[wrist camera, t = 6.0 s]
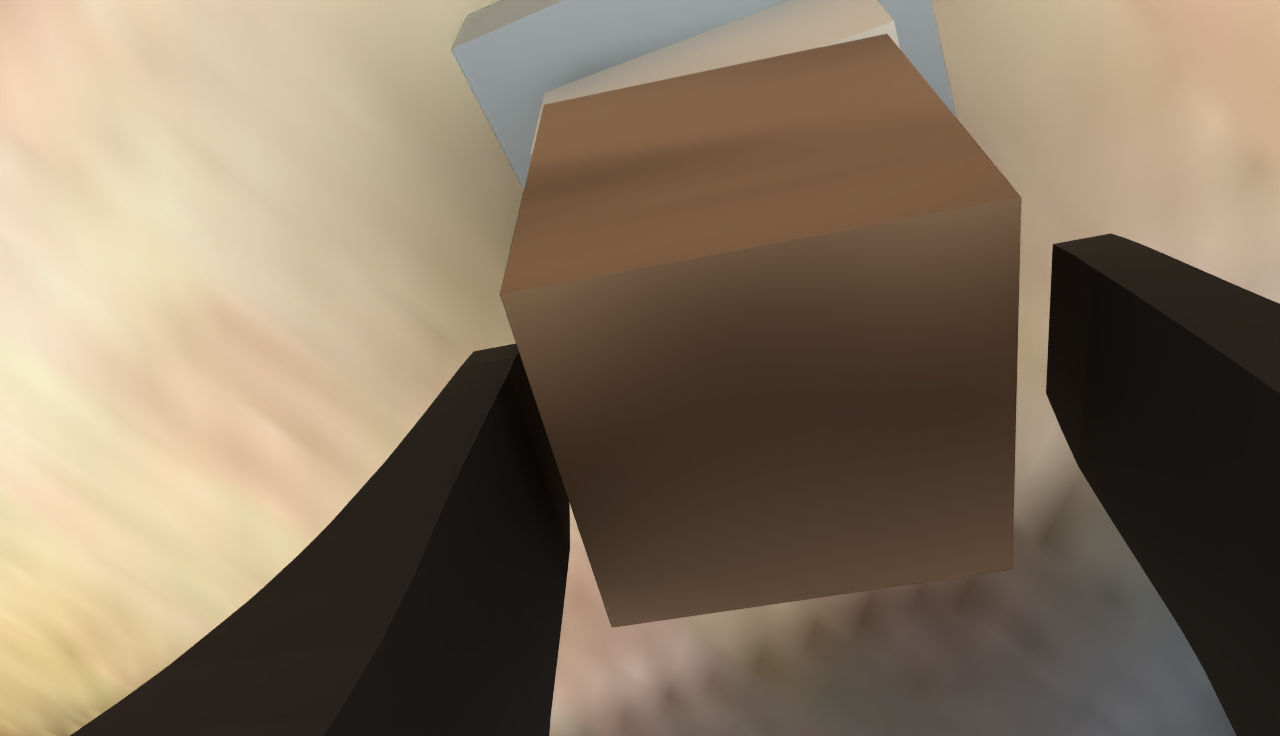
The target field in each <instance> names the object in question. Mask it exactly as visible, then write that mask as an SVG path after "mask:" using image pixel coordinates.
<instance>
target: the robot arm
mask: <svg viewBox="0 0 1280 736" xmlns="http://www.w3.org/2000/svg"><path fill="white" fill-rule="evenodd" d="M1046 394H1047V396H1048V399H1049V401H1050V403H1051V406H1052V408H1053V411H1054V413H1055V415H1056V418H1057V420H1058V422H1059V425H1060V427H1061V429H1062V432H1063V434H1064V436H1065V438H1066V440H1067V443H1068V445H1069V447H1070V449H1071V451H1072V453H1073V456H1074V458H1075V460H1076V462H1077V464H1078V466H1079V468H1080V470H1081V471H1082V473H1083V475H1084V476H1085V478H1086V480H1087V481H1088V483H1089V485H1090V486H1091V488H1092V489H1093V491H1094V493H1095V494H1096V496H1097V497H1098V499H1099V501H1100V502H1101V504H1102V505H1103V507H1104V509H1105V510H1106V512H1107V513H1108V515H1109V517H1110V518H1111V520H1112V521H1113V523H1114V525H1115V526H1116V528H1117V529H1118V531H1119V532H1120V534H1121V536H1122V537H1123V539H1124V540H1125V542H1126V543H1127V545H1128V547H1129V548H1130V550H1131V551H1132V553H1133V554H1134V556H1135V557H1136V559H1137V561H1138V562H1139V564H1140V565H1141V567H1142V568H1143V570H1144V572H1145V573H1146V575H1147V576H1148V578H1149V579H1150V581H1151V583H1152V584H1153V586H1154V587H1155V589H1156V590H1157V592H1158V594H1159V595H1160V597H1161V598H1162V600H1163V601H1164V603H1165V605H1166V606H1167V608H1168V609H1169V611H1170V612H1171V614H1172V616H1173V617H1174V619H1175V620H1176V622H1177V623H1178V625H1179V627H1180V628H1181V630H1182V632H1183V633H1184V635H1185V637H1186V639H1187V640H1188V642H1189V644H1190V645H1191V647H1192V649H1193V651H1194V652H1195V654H1196V656H1197V658H1198V659H1199V661H1200V663H1201V665H1202V666H1203V668H1204V670H1205V672H1206V674H1207V676H1208V678H1209V680H1210V682H1211V684H1212V686H1213V688H1214V690H1215V692H1216V694H1217V697H1218V699H1219V701H1220V703H1221V705H1222V707H1223V709H1224V711H1225V713H1226V715H1227V717H1228V719H1229V721H1230V723H1231V725H1232V727H1233V729H1234V731H1235V733H1236V735H1237V736H1280V304H1279V303H1276V302H1274V301H1272V300H1269V299H1267V298H1264V297H1262V296H1260V295H1257V294H1255V293H1253V292H1250V291H1248V290H1246V289H1243V288H1241V287H1239V286H1236V285H1234V284H1232V283H1229V282H1227V281H1225V280H1222V279H1220V278H1218V277H1216V276H1213V275H1211V274H1209V273H1206V272H1204V271H1202V270H1200V269H1197V268H1195V267H1193V266H1190V265H1188V264H1186V263H1184V262H1181V261H1179V260H1177V259H1174V258H1172V257H1170V256H1168V255H1165V254H1163V253H1160V252H1158V251H1156V250H1153V249H1151V248H1149V247H1146V246H1144V245H1141V244H1139V243H1136V242H1134V241H1131V240H1128V239H1126V238H1123V237H1120V236H1117V235H1114V234H1106V235H1100V236H1095V237H1090V238H1084V239H1079V240H1073V241H1068V242H1063V243H1057V244H1053V253H1052V275H1051V297H1050V319H1049V341H1048V363H1047V385H1046ZM569 552H570V510H569V499H568V496H567V493H566V490H565V487H564V484H563V481H562V478H561V475H560V472H559V469H558V466H557V463H556V460H555V457H554V454H553V451H552V448H551V445H550V442H549V439H548V436H547V433H546V430H545V427H544V424H543V421H542V418H541V415H540V412H539V409H538V407H537V404H536V401H535V398H534V395H533V392H532V389H531V386H530V383H529V380H528V377H527V374H526V371H525V368H524V365H523V362H522V359H521V356H520V353H519V350H518V347H517V344H512V345H507V346H501V347H496V348H490V349H485V350H480V351H474V352H473V353H472V354H471V355H470V357H469V358H468V359H467V360H466V361H465V362H464V364H463V365H462V366H461V367H460V368H459V370H458V371H457V372H456V374H455V375H454V376H453V377H452V379H451V380H450V381H449V382H448V384H447V385H446V386H445V388H444V389H443V390H442V391H441V393H440V394H439V395H438V397H437V398H436V399H435V400H434V402H433V403H432V404H431V406H430V407H429V408H428V409H427V411H426V412H425V413H424V414H423V416H422V417H421V418H420V419H419V421H418V422H417V423H416V424H415V426H414V427H413V428H412V429H411V431H410V432H409V433H408V434H407V436H406V437H405V438H404V439H403V441H402V442H401V443H400V444H399V445H398V447H397V448H396V449H395V450H394V452H393V453H392V454H391V455H390V457H389V458H388V459H387V460H386V461H385V463H384V464H383V465H382V466H381V467H380V468H379V469H378V470H377V472H376V473H375V474H374V475H373V476H372V477H371V478H370V479H369V480H368V482H367V483H366V484H365V485H364V486H363V487H362V488H361V489H360V491H359V492H358V493H357V494H356V495H355V496H354V497H353V498H352V499H351V501H350V502H349V503H348V504H347V505H346V506H345V507H344V508H343V510H342V511H341V512H340V513H339V514H338V515H337V516H336V517H335V519H334V520H333V521H332V522H331V523H330V524H329V525H328V526H327V527H326V528H325V529H324V530H323V531H322V532H321V533H320V534H319V535H318V536H317V537H316V538H315V539H314V540H313V541H312V542H311V543H310V544H309V545H308V546H307V547H306V548H305V549H304V550H303V551H302V552H301V553H300V554H299V555H298V556H297V557H296V558H295V559H294V560H293V561H292V562H290V563H289V564H288V565H287V566H286V567H285V568H284V569H283V570H282V571H281V572H280V573H279V574H278V575H277V576H275V577H274V578H273V579H272V580H271V581H270V582H269V583H268V584H267V585H266V586H265V587H264V588H263V589H261V590H260V591H259V592H258V593H257V594H256V595H255V596H253V597H252V598H251V599H250V600H249V601H248V602H247V603H245V604H244V605H243V606H242V607H240V608H239V609H238V610H237V611H236V612H234V613H233V614H232V615H231V616H229V617H228V618H227V619H226V620H224V621H223V622H222V623H221V624H220V625H218V626H217V627H216V628H215V629H213V630H212V631H211V632H210V633H208V634H207V635H206V636H205V637H204V638H202V639H201V640H200V641H199V642H197V643H196V644H195V645H194V646H192V647H191V648H190V649H189V650H188V651H186V652H185V653H184V654H183V655H181V656H180V657H179V658H178V659H176V660H175V661H174V662H173V663H171V664H170V665H169V666H167V667H166V668H165V669H163V670H162V671H161V672H160V673H158V674H157V675H155V676H154V677H153V678H151V679H150V680H149V681H147V682H146V683H144V684H143V685H142V686H140V687H139V688H138V689H136V690H135V691H133V692H132V693H131V694H129V695H128V696H127V697H125V698H124V699H122V700H121V701H120V702H118V703H117V704H115V705H114V706H113V707H111V708H110V709H108V710H107V711H105V712H104V713H102V714H101V715H99V716H98V717H97V718H95V719H94V720H92V721H91V722H89V723H88V724H86V725H85V726H83V727H82V728H81V729H79V730H78V731H76V732H75V733H73V734H72V735H70V736H549V730H550V717H551V708H552V700H553V691H554V683H555V674H556V666H557V658H558V649H559V641H560V632H561V624H562V615H563V607H564V598H565V589H566V580H567V571H568V562H569Z"/></svg>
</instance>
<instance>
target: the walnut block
mask: <svg viewBox="0 0 1280 736" xmlns="http://www.w3.org/2000/svg"><path fill="white" fill-rule="evenodd" d="M1020 223H1021V197H1020V195H1019V194H1018V193H1017V192H1016V190H1015V189H1014V188H1013V187H1012V186H1011V184H1010V183H1009V182H1008V181H1007V179H1006V178H1005V177H1004V176H1003V175H1002V173H1001V172H1000V171H999V170H998V168H997V167H996V166H995V165H994V164H993V162H992V161H991V160H990V159H989V157H988V156H987V155H986V154H985V153H984V151H983V150H982V149H981V148H980V146H979V145H978V144H977V143H976V142H975V140H974V139H973V138H972V137H971V135H970V134H969V133H968V132H967V130H966V129H965V128H964V127H963V126H962V124H961V123H960V122H959V121H958V119H957V118H956V117H955V116H954V115H953V113H952V112H951V111H950V110H949V108H948V107H947V106H946V105H945V104H944V102H943V101H942V100H941V99H940V97H939V96H938V95H937V94H936V93H935V91H934V90H933V89H932V88H931V86H930V85H929V84H928V83H927V82H926V80H925V79H924V78H923V77H922V75H921V74H920V73H919V72H918V71H917V69H916V68H915V67H914V66H913V64H912V63H911V62H910V61H909V60H908V58H907V57H906V56H905V55H904V53H903V52H902V51H901V50H900V49H899V47H898V46H897V45H896V44H895V42H894V41H893V40H892V39H891V38H890V36H889V35H888V34H883V35H878V36H873V37H869V38H864V39H859V40H854V41H849V42H845V43H840V44H835V45H830V46H825V47H819V48H814V49H809V50H804V51H799V52H795V53H790V54H785V55H780V56H775V57H771V58H766V59H761V60H756V61H751V62H747V63H742V64H737V65H732V66H727V67H723V68H718V69H713V70H708V71H703V72H699V73H694V74H689V75H684V76H679V77H675V78H670V79H665V80H660V81H655V82H651V83H646V84H641V85H636V86H631V87H627V88H622V89H617V90H612V91H607V92H603V93H598V94H593V95H588V96H583V97H579V98H574V99H569V100H564V101H559V102H555V103H550V104H545V105H544V106H543V110H542V114H541V119H540V123H539V127H538V132H537V136H536V140H535V145H534V149H533V153H532V158H531V162H530V166H529V171H528V175H527V179H526V184H525V188H524V192H523V197H522V201H521V205H520V210H519V214H518V218H517V223H516V227H515V231H514V236H513V240H512V244H511V249H510V253H509V257H508V262H507V266H506V270H505V275H504V279H503V283H502V288H501V292H500V296H501V299H502V302H503V305H504V308H505V311H506V314H507V317H508V320H509V323H510V326H511V329H512V332H513V335H514V338H515V341H516V344H517V347H518V350H519V353H520V356H521V359H522V362H523V365H524V368H525V371H526V374H527V377H528V380H529V383H530V386H531V389H532V392H533V395H534V398H535V401H536V404H537V407H538V409H539V412H540V415H541V418H542V421H543V424H544V427H545V430H546V433H547V436H548V439H549V442H550V445H551V448H552V451H553V454H554V457H555V460H556V463H557V466H558V469H559V472H560V475H561V478H562V481H563V484H564V487H565V490H566V493H567V496H568V499H569V502H570V505H571V508H572V511H573V514H574V517H575V520H576V523H577V526H578V529H579V532H580V535H581V537H582V540H583V543H584V546H585V549H586V552H587V555H588V558H589V561H590V564H591V567H592V570H593V573H594V576H595V579H596V582H597V585H598V588H599V591H600V594H601V597H602V600H603V603H604V606H605V609H606V612H607V615H608V618H609V621H610V624H611V627H619V626H626V625H633V624H640V623H647V622H653V621H660V620H667V619H674V618H681V617H688V616H695V615H702V614H709V613H716V612H723V611H730V610H736V609H743V608H750V607H757V606H764V605H771V604H778V603H785V602H792V601H799V600H806V599H813V598H820V597H826V596H833V595H840V594H847V593H854V592H861V591H868V590H875V589H882V588H889V587H896V586H903V585H909V584H916V583H923V582H930V581H937V580H944V579H951V578H958V577H965V576H972V575H979V574H986V573H993V572H999V571H1006V570H1012V560H1013V518H1014V476H1015V434H1016V391H1017V349H1018V307H1019V265H1020Z"/></svg>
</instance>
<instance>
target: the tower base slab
mask: <svg viewBox="0 0 1280 736" xmlns="http://www.w3.org/2000/svg"><path fill="white" fill-rule="evenodd" d="M786 1H788V0H501V1H499V2H496V3H494V4H492V5H489V6H487V7H485V8H483V9H480V10H478V11H476V12H474V13H471V14H469V15H468V16H467V18H466V20H465V22H464V24H463V26H462V28H461V30H460V32H459V34H458V36H457V38H456V40H455V42H454V44H453V46H452V48H451V50H452V52H453V54H454V56H455V58H456V60H457V62H458V64H459V66H460V68H461V70H462V71H463V73H464V75H465V77H466V79H467V81H468V83H469V85H470V87H471V89H472V91H473V93H474V95H475V97H476V99H477V101H478V102H479V104H480V106H481V108H482V110H483V112H484V114H485V116H486V118H487V120H488V122H489V124H490V126H491V128H492V130H493V132H494V134H495V135H496V137H497V139H498V141H499V143H500V145H501V147H502V149H503V151H504V153H505V155H506V157H507V159H508V161H509V163H510V165H511V167H512V168H513V170H514V172H515V174H516V176H517V178H518V180H519V182H520V184H521V186H522V188H523V190H524V188H525V184H526V179H527V175H528V171H529V166H530V162H531V158H532V155H531V149H532V145H533V141H534V136H535V132H536V128H537V123H538V119H539V114H540V110H541V106H542V101H543V97H544V93H545V92H547V91H550V90H552V89H555V88H558V87H560V86H563V85H566V84H568V83H571V82H574V81H576V80H579V79H581V78H584V77H587V76H589V75H592V74H595V73H597V72H600V71H603V70H605V69H608V68H611V67H613V66H616V65H619V64H621V63H624V62H626V61H629V60H632V59H634V58H637V57H640V56H642V55H645V54H648V53H650V52H653V51H656V50H658V49H661V48H664V47H666V46H669V45H671V44H674V43H677V42H679V41H682V40H685V39H687V38H690V37H693V36H695V35H698V34H701V33H703V32H706V31H709V30H711V29H714V28H717V27H719V26H722V25H725V24H727V23H730V22H732V21H735V20H738V19H740V18H743V17H746V16H748V15H751V14H754V13H756V12H759V11H762V10H764V9H767V8H770V7H772V6H775V5H778V4H780V3H783V2H786ZM877 1H878V2H879V4H880V5H881V6H882V7H883V8H884V9H885V11H886V12H887V13H888V14H889V15H890V17H891V18H892V19H893V20H894V23H895V27H896V32H897V37H898V42H899V46H900V50H901V51H902V52H903V53H904V55H905V56H906V57H907V58H908V60H909V61H910V62H911V63H912V64H913V66H914V67H915V68H916V69H917V71H918V72H919V73H920V74H921V75H922V77H923V78H924V79H925V80H926V82H927V83H928V84H929V85H930V86H931V88H932V89H933V90H934V91H935V93H936V94H937V95H938V96H939V97H940V99H941V100H942V101H943V102H944V104H945V105H946V106H947V107H948V108H949V110H950V111H951V112H952V113H953V115H954V116H955V117H956V113H955V108H954V104H953V99H952V94H951V90H950V85H949V81H948V76H947V71H946V67H945V62H944V57H943V53H942V48H941V44H940V39H939V34H938V30H937V25H936V20H935V16H934V11H933V6H932V2H931V0H877Z"/></svg>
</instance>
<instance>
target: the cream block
mask: <svg viewBox="0 0 1280 736" xmlns="http://www.w3.org/2000/svg"><path fill="white" fill-rule="evenodd" d="M883 34H888V35H889V36H890V38H891V39H892V40H893V41H894V42H895V44H896V45H897V46H898V47H899V49H900V46H899V42H898V37H897V32H896V27H895V23H894V20H893V19H892V18H891V17H890V15H889V14H888V13H887V12H886V11H885V9H884V8H883V7H882V6H881V5H880V4H879V2H878V1H877V0H788V1H786V2H783V3H780V4H778V5H775V6H772V7H770V8H767V9H764V10H762V11H759V12H756V13H754V14H751V15H748V16H746V17H743V18H740V19H738V20H735V21H732V22H730V23H727V24H725V25H722V26H719V27H717V28H714V29H711V30H709V31H706V32H703V33H701V34H698V35H695V36H693V37H690V38H687V39H685V40H682V41H679V42H677V43H674V44H671V45H669V46H666V47H664V48H661V49H658V50H656V51H653V52H650V53H648V54H645V55H642V56H640V57H637V58H634V59H632V60H629V61H626V62H624V63H621V64H619V65H616V66H613V67H611V68H608V69H605V70H603V71H600V72H597V73H595V74H592V75H589V76H587V77H584V78H581V79H579V80H576V81H574V82H571V83H568V84H566V85H563V86H560V87H558V88H555V89H552V90H550V91H547V92H545V93H544V97H543V101H542V106H541V110H540V114H539V119H538V123H537V128H536V132H535V136H534V141H533V145H532V149H531V155H532V153H533V149H534V145H535V140H536V136H537V132H538V127H539V123H540V119H541V114H542V110H543V106H544V105H545V104H550V103H555V102H559V101H564V100H569V99H574V98H579V97H583V96H588V95H593V94H598V93H603V92H607V91H612V90H617V89H622V88H627V87H631V86H636V85H641V84H646V83H651V82H655V81H660V80H665V79H670V78H675V77H679V76H684V75H689V74H694V73H699V72H703V71H708V70H713V69H718V68H723V67H727V66H732V65H737V64H742V63H747V62H751V61H756V60H761V59H766V58H771V57H775V56H780V55H785V54H790V53H795V52H799V51H804V50H809V49H814V48H819V47H825V46H830V45H835V44H840V43H845V42H849V41H854V40H859V39H864V38H869V37H873V36H878V35H883Z"/></svg>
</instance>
